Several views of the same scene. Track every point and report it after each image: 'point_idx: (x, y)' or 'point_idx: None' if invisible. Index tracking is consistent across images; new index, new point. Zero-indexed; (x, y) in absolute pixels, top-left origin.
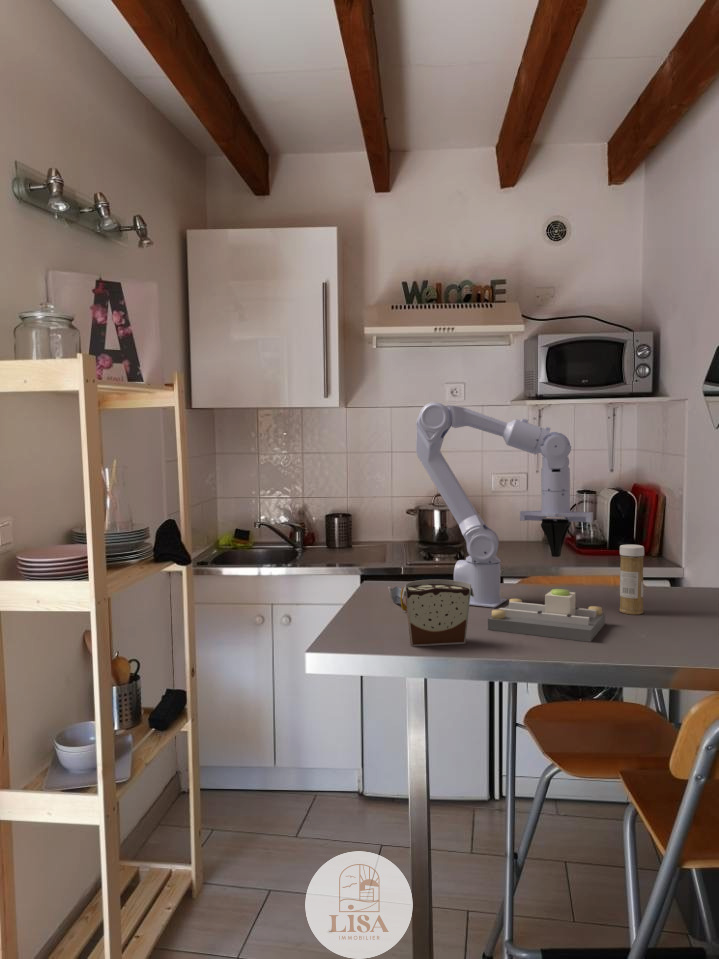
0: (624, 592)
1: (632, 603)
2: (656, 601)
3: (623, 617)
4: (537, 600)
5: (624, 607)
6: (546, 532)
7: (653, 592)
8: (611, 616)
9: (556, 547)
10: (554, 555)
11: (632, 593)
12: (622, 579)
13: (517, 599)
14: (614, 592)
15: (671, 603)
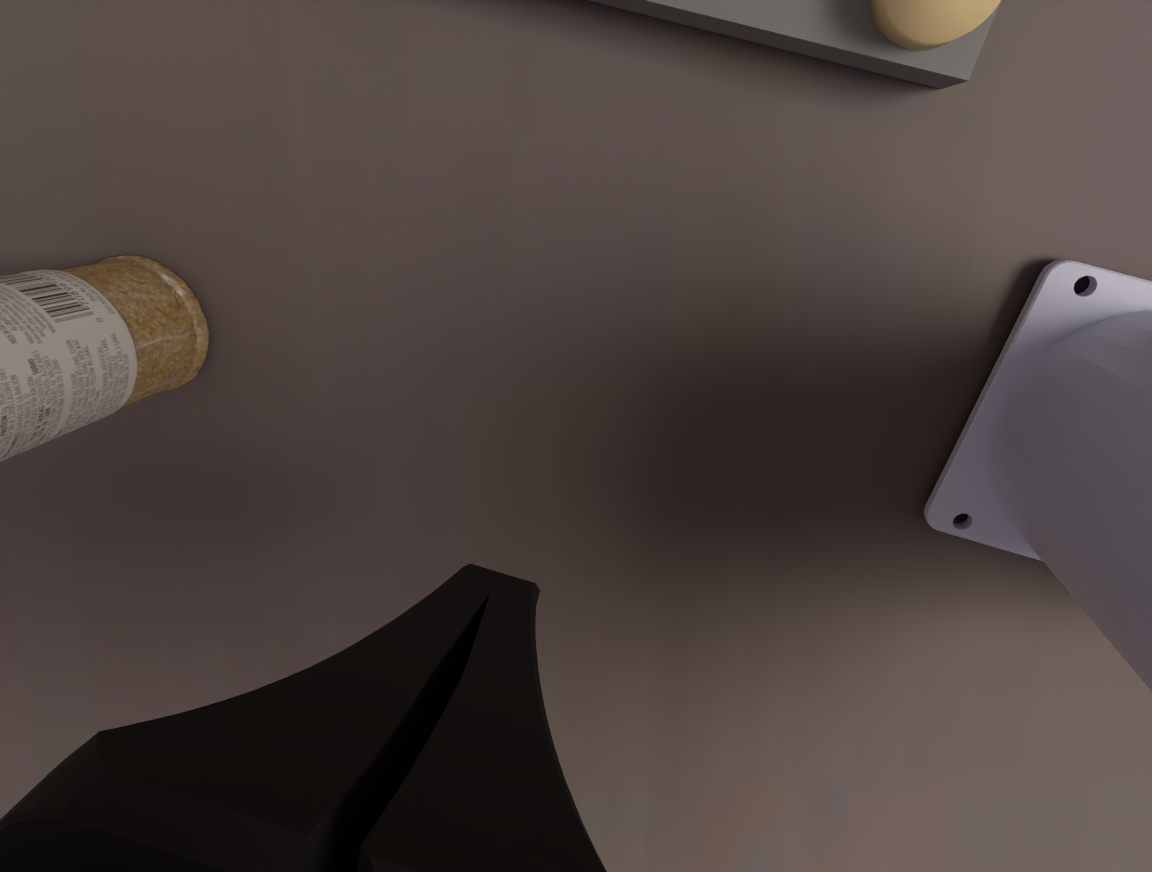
0: (75, 300)
1: (82, 267)
2: (76, 618)
3: (178, 177)
4: (697, 569)
5: (154, 285)
6: (534, 794)
7: None
8: (245, 188)
9: (446, 612)
10: (504, 578)
11: (22, 273)
12: (4, 333)
13: (924, 2)
14: None
15: (8, 582)
